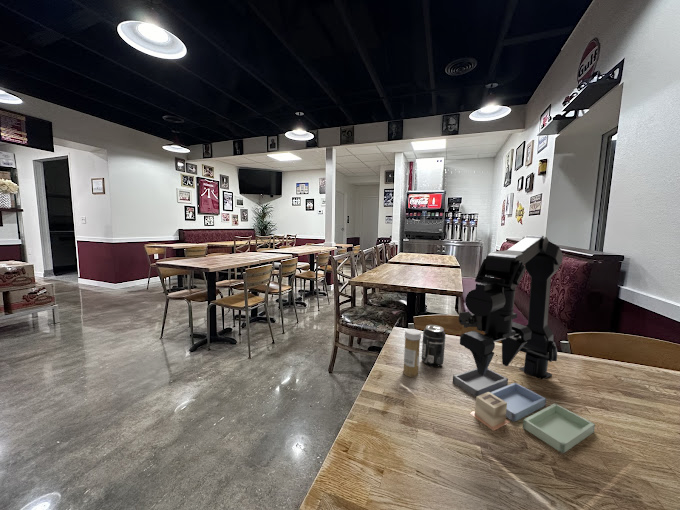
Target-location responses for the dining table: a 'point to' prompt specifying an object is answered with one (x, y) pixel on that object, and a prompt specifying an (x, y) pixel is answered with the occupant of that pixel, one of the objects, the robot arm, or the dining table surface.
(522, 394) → the slate tray
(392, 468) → the dining table surface
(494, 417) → the letter cube
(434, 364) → the beverage can
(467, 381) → the charcoal tray
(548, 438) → the green tray
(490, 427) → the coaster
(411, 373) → the sprinkles bottle
